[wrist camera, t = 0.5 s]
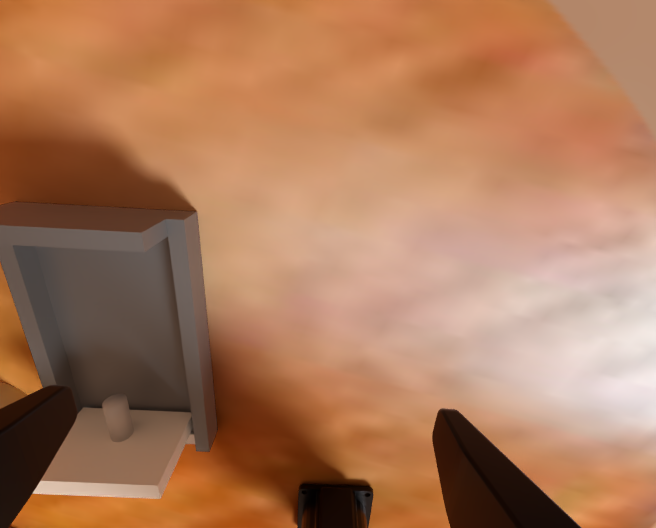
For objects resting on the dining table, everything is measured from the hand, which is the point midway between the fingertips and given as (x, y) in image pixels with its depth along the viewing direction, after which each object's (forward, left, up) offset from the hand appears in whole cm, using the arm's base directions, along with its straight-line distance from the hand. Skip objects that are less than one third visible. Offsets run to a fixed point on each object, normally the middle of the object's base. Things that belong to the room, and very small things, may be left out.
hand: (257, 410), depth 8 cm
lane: (-8, +12, -14) cm, 20 cm away
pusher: (-13, +12, -13) cm, 22 cm away
